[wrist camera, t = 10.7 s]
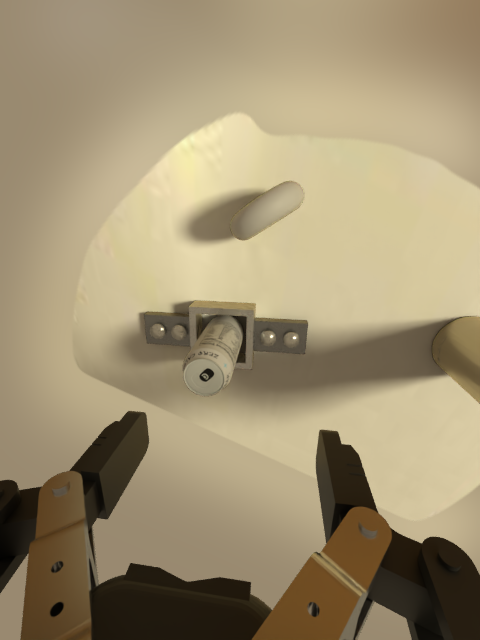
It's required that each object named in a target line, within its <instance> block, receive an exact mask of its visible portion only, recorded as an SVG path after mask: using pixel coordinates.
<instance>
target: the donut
mask: <svg viewBox="0 0 480 640" xmlns="http://www.w3.org/2000/svg"><path fill="white" fill-rule="evenodd" d="M303 200H304V191H303V188H302V187H301V185H300V184H298V183H297V182H293V181H286V182H283V183H281V184H279V185H277V186H275V187H273V188H272V189H270V190H268V191H267V192H265V193H263V194H262V195H260V196H259V197H257V198H256V199H254V200H253V201H251V202H250V203H249V204H247V205H246V206H245V207H243V208H242V209H241V210H240V211H239V212H237V213H236V214H235V215H234V216H233V218H232V220H231V222H230V230H231V232H232V234H233V235H234V237H235V238H237V239H239V240H248V239H250V238H252V237H254V236H255V235H257V234H258V233H260V232H262V231H263V230H265V229H267V228H268V227H270V226H271V225H273V224H275V223H276V222H278V221H279V220H281V219H282V218H284V217H286V216H287V215H289V214H290V213H292V212H293V211H295V210H296V209H298V208H299V207H300V206H301V204H302V203H303Z"/></svg>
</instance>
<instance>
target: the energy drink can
mask: <svg viewBox="0 0 480 640" xmlns="http://www.w3.org/2000/svg"><path fill="white" fill-rule="evenodd" d="M243 337H244V331H243V327H242V325H241V324H240V322H239V321H238V320H236V319H235V318H233V317H231V316H228V315H220V316H217V317H215V318H213V319H212V320H211V321H210V322H209V323H208V325H207V326H206V328H205V329H204V331H203V332H202V334H201V335H200V337H199V338H198V340H197V341H196V343H195V344H194V346H193V347H192V349H191V350H190V352H189V353H188V355H187V356H186V358H185V360H184V363H183V378H184V382H185V384H186V386H187V387H188V388H189V389H190V390H191V391H192V392H193V393H195V394H197V395H201V396H212V395H214V394H217V393H218V392H219V391H220V390H222V389H224V388H225V387H226V386H227V385H228V384H229V382H230V380H231V377H232V374H233V371H234V367H235V364H236V361H237V357H238V354H239V350H240V347H241V344H242V340H243Z"/></svg>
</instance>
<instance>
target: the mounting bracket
mask: <svg viewBox="0 0 480 640" xmlns="http://www.w3.org/2000/svg"><path fill="white" fill-rule="evenodd" d="M255 311H256V304H255V303H236V302H216V301H196V300H195V301H194V302H193V303H192V304H191V305H190V306H189V314H182V313H164V312H147V313H145V314H144V319H145V330H146V340H147V343H150V344H164V345H179V346H190V347H191V349H192V347H193V346H194V344H195V343H196V341H197V340H198V338H199V337H200V335H201V334H202V314H213V315H231V316H247V329H246V353H239V354H238V357H237V361H236V364H235V367H234V368H236V369H249V370H252V366H253V361H254V351H266V352H281V353H295V354H305V349H306V339H307V329H308V322H307V321H306V320H289V319H271V318H255Z"/></svg>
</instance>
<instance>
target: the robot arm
mask: <svg viewBox="0 0 480 640" xmlns="http://www.w3.org/2000/svg"><path fill="white" fill-rule="evenodd" d="M432 355H433V358H434V360H435V362H436V363H437V364H438V366H440V367H441V368H442V369H443V370H444V371H445V372H446V373H447V374H448V375H449V376H450V377H451V378H452V379H453V380H454V381H456V382H457V383H458V384H459V385H460V386H461V387H462V388H463V389H464V390H465V391H466V392H467V393H469V394H470V395H471V396H472V397H473V398H474V399H475V400H476V401H477V402H478V403H479V404H480V317H474V316H470V317H463V318H460V319H456V320H454V321H452V322H450V323H449V324H447V325H446V326H444V327H443V328H442V329H441V330H440V331H439V332H438V334H437V336H436V337H435V339H434V342H433V345H432ZM148 444H149V436H148V426H147V418H146V414H145V413H144V412H135V411H128V412H127V413H126V414H125V415H124V417H123V418H122V419H121V420H120V421H115V422H114V423H112V424H110V425H109V426H108V427H106V428H105V429H104V430H103V431H102V432H101V434H100V435H99V436H98V438H97V439H96V440H95V441H94V442H93V443H92V445H91V446H90V447H89V448H88V449H87V450H86V452H85V453H84V454H83V455H82V456H81V458H80V459H79V460H78V461H77V462H76V464H75V465H74V466H73V467H72V468H71V469H70V471H67V472H62V473H59V474H57V475H55V476H54V477H52V478H50V479H49V480H48V481H47V482H46V483H45V484H44V485H43V486H42V487H36V488H30V489H24V490H19V488H18V485H17V483H16V482H15V481H12V480H3V481H0V593H1V592H2V590H3V589H4V587H5V586H6V584H7V583H8V582H9V580H10V579H11V577H12V576H13V574H14V573H15V572H16V570H17V569H18V567H19V566H20V564H21V563H22V561H23V560H24V559H25V557H26V556H27V554H28V553H29V556H28V567H27V576H26V586H25V597H24V608H23V618H22V630H21V639H20V640H357V639H358V637H359V635H360V633H361V630H362V628H363V626H364V624H365V622H366V620H367V617H368V615H369V613H370V611H371V608H372V606H373V604H374V602H376V603H378V604H380V605H382V606H384V607H386V608H388V609H390V610H392V611H394V612H395V613H397V614H399V615H401V616H403V617H405V618H406V619H407V622H408V627H409V630H410V634H411V637H412V640H480V575H479V573H478V571H477V569H476V567H475V565H474V563H473V562H472V560H471V559H470V558H469V556H468V555H467V554H466V553H465V552H464V551H463V550H461V548H459V547H458V546H457V545H455V544H454V543H452V542H450V541H448V540H446V539H444V538H440V537H429V538H427V539H425V540H424V541H423V543H419V542H417V541H414V540H412V539H410V538H407V537H405V536H403V535H401V534H399V533H397V532H395V531H394V530H393V529H391V528H390V526H389V524H388V523H387V521H386V520H385V519H384V518H383V517H382V516H381V515H380V514H379V513H378V511H377V509H376V505H375V502H374V499H373V496H372V493H371V490H370V487H369V484H368V481H367V478H366V477H365V472H364V469H363V468H362V463H361V460H360V457H359V455H358V453H357V452H356V451H355V450H354V449H353V447H352V446H351V445H345V444H341V441H340V437H339V434H338V432H337V431H329V430H320V431H319V438H318V446H317V454H316V474H317V481H318V488H319V495H320V502H321V509H322V516H323V523H324V530H325V537H326V545H325V547H324V548H323V550H322V551H321V552H320V553H317V552H314V553H313V554H312V555H311V556H310V558H309V559H308V560H307V562H306V563H305V565H304V566H303V567H302V569H301V570H300V572H299V573H298V574H297V576H296V577H295V579H294V580H293V582H292V583H291V584H290V586H289V587H288V589H287V590H286V592H285V593H284V594H283V596H282V597H281V599H280V600H279V601H278V603H277V604H276V606H275V607H274V609H273V610H271V608H270V607H268V606H267V605H266V604H265V603H264V602H263V601H261V600H260V599H259V598H257V597H255V596H253V595H251V594H250V590H251V582H246V581H240V580H234V579H227V578H221V577H219V578H212V579H205V580H198V581H191V582H186V581H184V580H182V579H180V578H178V577H176V576H174V575H172V574H170V573H168V572H166V571H164V570H163V569H161V568H158V567H152V566H146V565H139V564H133V563H131V564H130V566H129V568H128V570H127V572H126V575H121V576H118V577H115V578H112V579H110V580H107V581H105V582H104V583H101V584H100V585H99V580H98V574H97V564H96V554H95V544H94V534H93V527H92V525H93V524H94V522H95V521H96V519H97V518H101V519H108V518H109V516H110V514H111V513H112V511H113V509H114V507H115V506H116V504H117V502H118V501H119V499H120V497H121V495H122V493H123V492H124V490H125V488H126V487H127V485H128V483H129V481H130V480H131V478H132V476H133V474H134V473H135V471H136V469H137V467H138V466H139V464H140V462H141V461H142V459H143V457H144V455H145V453H146V451H147V448H148Z"/></svg>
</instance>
